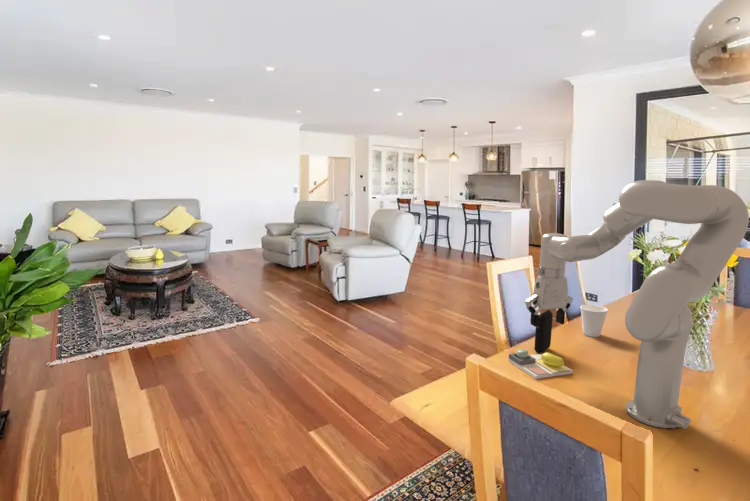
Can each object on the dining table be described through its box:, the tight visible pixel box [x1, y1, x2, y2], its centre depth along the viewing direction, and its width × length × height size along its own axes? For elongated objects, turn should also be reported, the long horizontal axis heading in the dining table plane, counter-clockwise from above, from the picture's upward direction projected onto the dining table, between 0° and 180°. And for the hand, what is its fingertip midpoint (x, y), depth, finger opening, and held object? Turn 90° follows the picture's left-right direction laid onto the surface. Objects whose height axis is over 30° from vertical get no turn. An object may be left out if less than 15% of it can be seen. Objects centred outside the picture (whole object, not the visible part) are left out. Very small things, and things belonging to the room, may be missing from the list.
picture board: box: [508, 352, 574, 380], centre depth 141 cm, size 14×14×2 cm
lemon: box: [541, 351, 565, 367], centre depth 139 cm, size 4×8×4 cm, turn 30°
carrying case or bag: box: [533, 309, 554, 354], centre depth 152 cm, size 11×3×15 cm, turn 137°
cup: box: [579, 304, 609, 338], centre depth 170 cm, size 10×10×11 cm
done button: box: [516, 348, 529, 359], centre depth 143 cm, size 4×4×2 cm
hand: (547, 324), depth 138 cm, fingers open, 9 cm apart
